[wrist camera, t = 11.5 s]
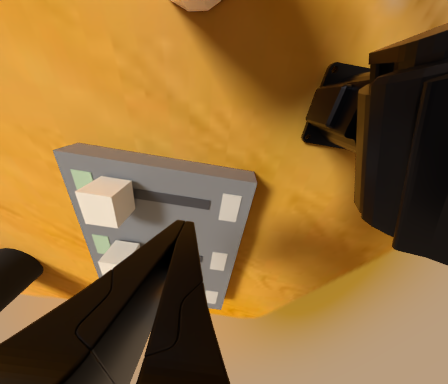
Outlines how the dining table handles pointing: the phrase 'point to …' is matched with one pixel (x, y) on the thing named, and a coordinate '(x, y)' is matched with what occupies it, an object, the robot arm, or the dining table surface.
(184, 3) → the white cup
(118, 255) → the block
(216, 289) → the grey slider switch panel
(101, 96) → the dining table surface
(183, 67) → the dining table surface
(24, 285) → the wine bottle
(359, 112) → the robot arm
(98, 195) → the block
